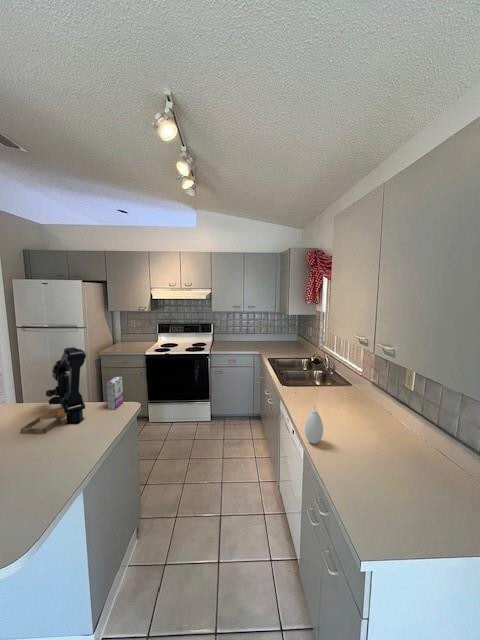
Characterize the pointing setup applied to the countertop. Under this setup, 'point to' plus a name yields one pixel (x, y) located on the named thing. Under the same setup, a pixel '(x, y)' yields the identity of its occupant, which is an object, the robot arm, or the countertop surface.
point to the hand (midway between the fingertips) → (65, 410)
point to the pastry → (60, 413)
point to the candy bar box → (115, 392)
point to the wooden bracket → (39, 430)
